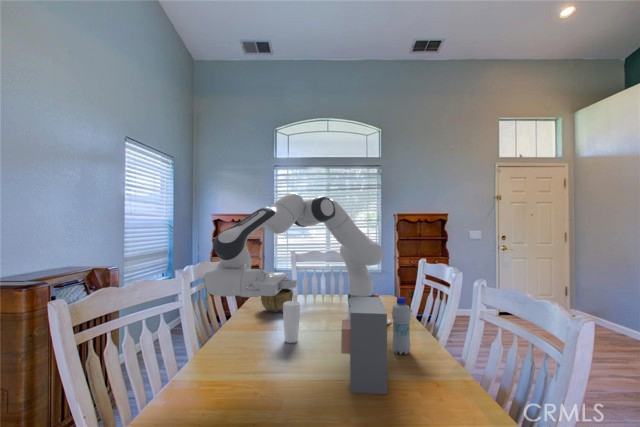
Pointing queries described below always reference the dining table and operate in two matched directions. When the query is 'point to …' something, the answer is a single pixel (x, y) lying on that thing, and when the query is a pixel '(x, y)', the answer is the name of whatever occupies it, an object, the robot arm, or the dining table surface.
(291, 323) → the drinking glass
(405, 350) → the bottle
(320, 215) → the robot arm
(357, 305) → the gray rectangular box
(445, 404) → the dining table surface
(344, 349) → the pink rectangular block
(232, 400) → the dining table surface
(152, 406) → the dining table surface
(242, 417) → the dining table surface
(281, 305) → the olive brown basket
